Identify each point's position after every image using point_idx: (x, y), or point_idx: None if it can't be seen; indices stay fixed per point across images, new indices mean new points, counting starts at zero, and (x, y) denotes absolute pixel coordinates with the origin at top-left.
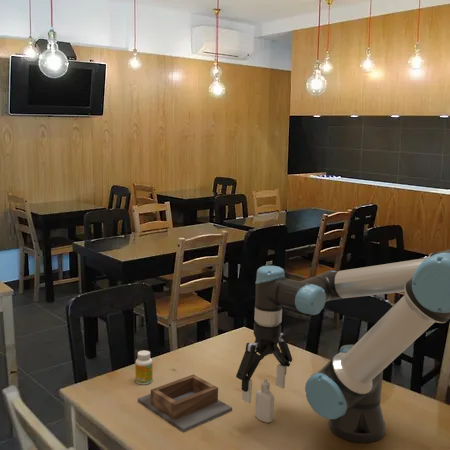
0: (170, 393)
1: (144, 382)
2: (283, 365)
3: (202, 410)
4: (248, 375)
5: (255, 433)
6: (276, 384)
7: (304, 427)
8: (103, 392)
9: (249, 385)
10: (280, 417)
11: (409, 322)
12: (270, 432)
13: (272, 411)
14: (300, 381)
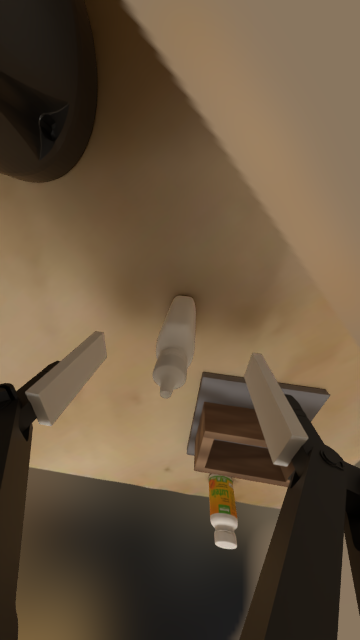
0: (252, 458)
1: (228, 478)
2: (28, 404)
3: (248, 404)
4: (345, 490)
5: (249, 293)
6: (105, 356)
7: (142, 216)
8: (276, 490)
9: (291, 413)
10: (151, 292)
11: None
12: (223, 269)
13: (179, 304)
14: (16, 343)
